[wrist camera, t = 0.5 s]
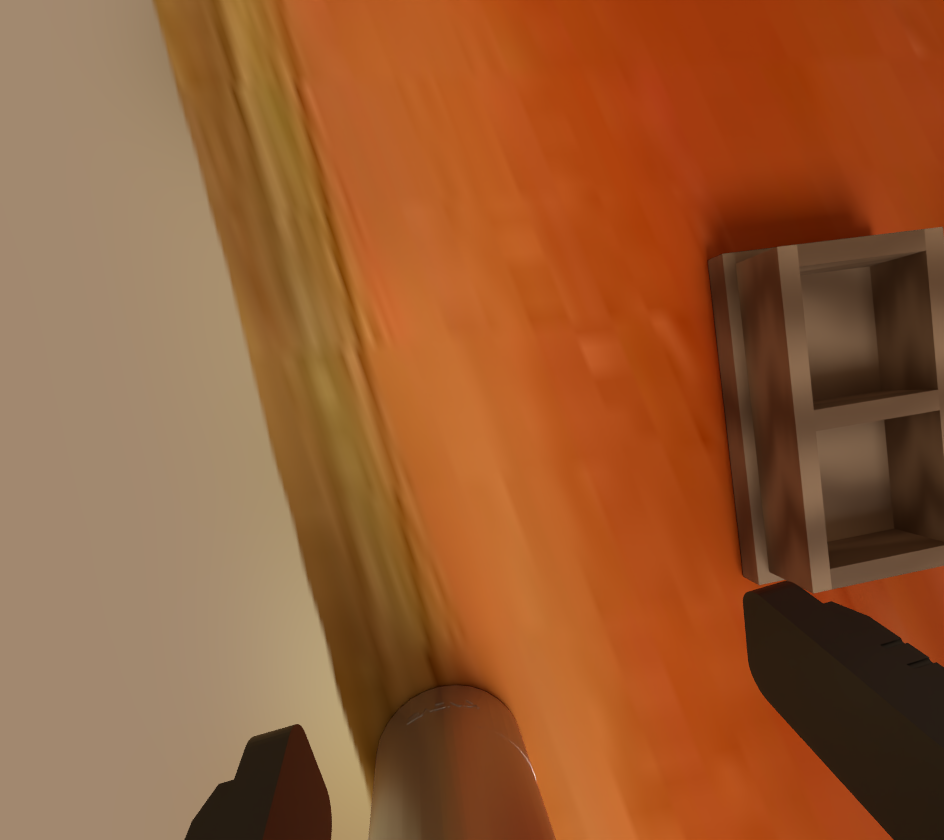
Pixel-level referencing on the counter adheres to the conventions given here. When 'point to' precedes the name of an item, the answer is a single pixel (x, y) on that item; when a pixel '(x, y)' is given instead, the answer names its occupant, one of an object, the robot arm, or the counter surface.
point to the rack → (835, 406)
